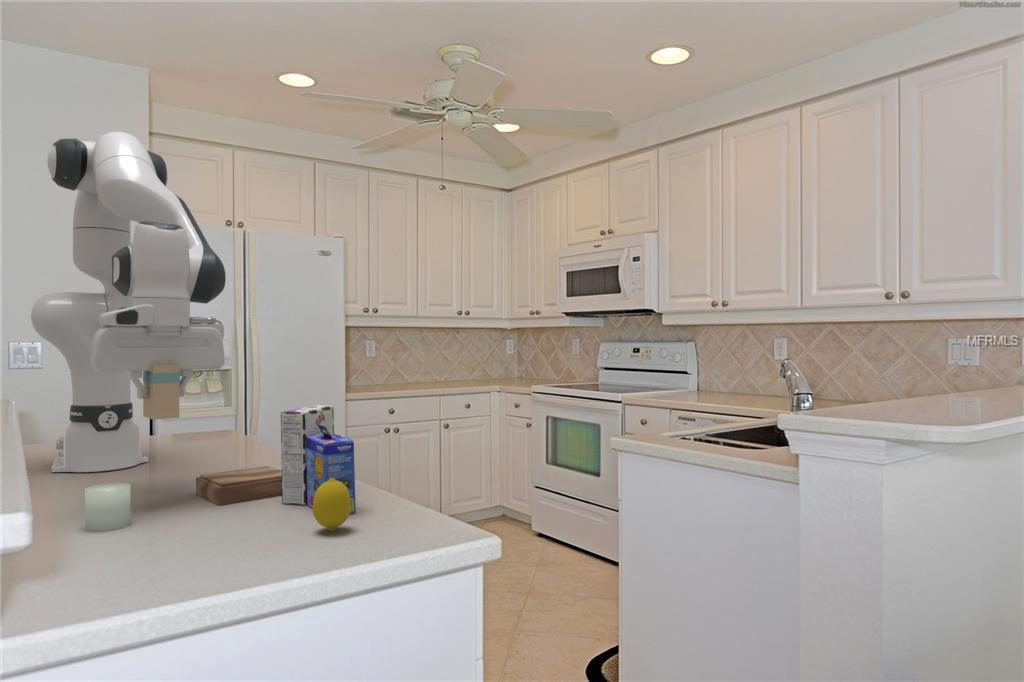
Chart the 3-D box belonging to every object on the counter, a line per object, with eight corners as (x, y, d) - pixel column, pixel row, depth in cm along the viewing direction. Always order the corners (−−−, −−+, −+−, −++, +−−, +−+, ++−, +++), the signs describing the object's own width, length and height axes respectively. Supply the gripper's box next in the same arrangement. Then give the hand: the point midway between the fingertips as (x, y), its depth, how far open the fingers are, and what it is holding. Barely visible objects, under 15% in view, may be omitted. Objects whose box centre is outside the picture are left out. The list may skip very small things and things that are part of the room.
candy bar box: (311, 490, 126) (311, 404, 126) (335, 491, 125) (335, 405, 125) (279, 504, 115) (279, 410, 115) (305, 506, 114) (305, 411, 114)
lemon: (315, 538, 95) (315, 483, 95) (310, 528, 100) (310, 476, 100) (353, 534, 98) (354, 480, 97) (347, 524, 103) (347, 473, 103)
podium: (196, 493, 123) (196, 474, 123) (269, 482, 132) (269, 465, 132) (219, 505, 114) (219, 485, 114) (296, 492, 123) (296, 474, 123)
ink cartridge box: (304, 505, 114) (304, 422, 114) (335, 501, 117) (335, 420, 117) (324, 518, 106) (324, 428, 106) (356, 513, 109) (356, 426, 109)
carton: (142, 416, 113) (142, 363, 113) (168, 414, 116) (168, 363, 116) (153, 419, 108) (153, 365, 108) (179, 417, 111) (179, 364, 111)
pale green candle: (81, 525, 102) (81, 486, 102) (125, 518, 106) (125, 481, 106) (88, 534, 97) (88, 493, 97) (134, 526, 101) (134, 487, 101)
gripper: (217, 318, 121) (217, 392, 121) (88, 315, 107) (88, 399, 107) (230, 317, 117) (230, 395, 117) (96, 314, 103) (96, 402, 103)
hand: (161, 397), depth 112 cm, fingers closed on carton, 4 cm apart
